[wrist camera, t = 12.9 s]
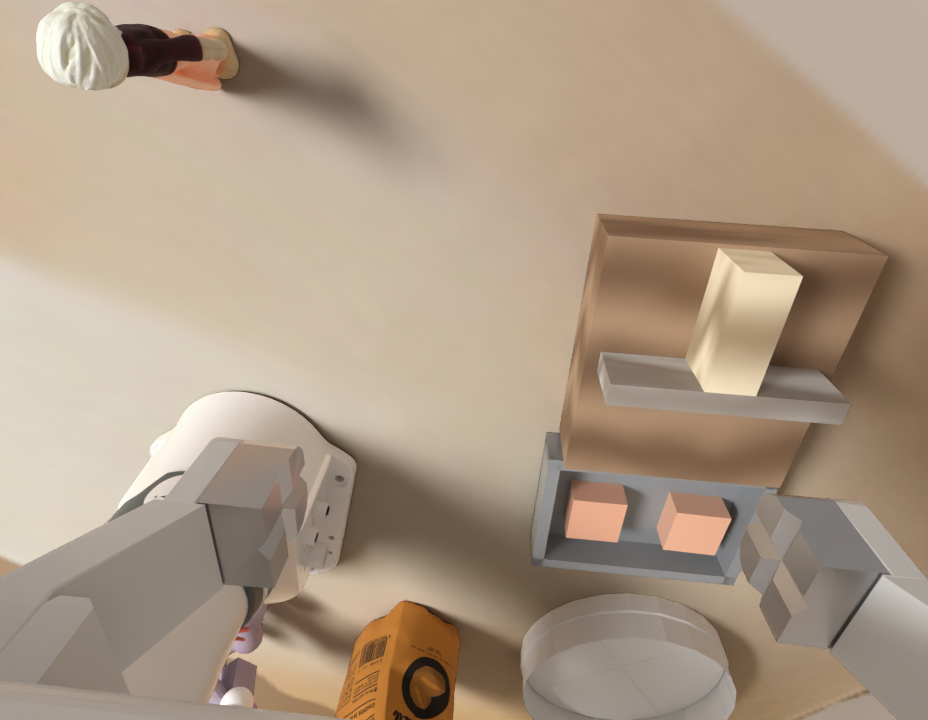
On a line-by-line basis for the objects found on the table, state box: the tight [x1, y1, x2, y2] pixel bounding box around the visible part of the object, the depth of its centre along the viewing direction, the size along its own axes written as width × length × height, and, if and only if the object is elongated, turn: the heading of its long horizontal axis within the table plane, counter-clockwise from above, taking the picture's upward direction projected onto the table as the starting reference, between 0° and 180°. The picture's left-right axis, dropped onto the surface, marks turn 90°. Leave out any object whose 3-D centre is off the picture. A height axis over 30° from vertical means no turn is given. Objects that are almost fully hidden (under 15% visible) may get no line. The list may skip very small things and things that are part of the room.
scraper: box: [597, 248, 852, 425], centre depth 32 cm, size 9×14×4 cm, turn 87°
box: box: [530, 432, 779, 585], centre depth 46 cm, size 12×18×4 cm
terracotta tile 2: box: [563, 480, 628, 542], centre depth 47 cm, size 4×4×2 cm
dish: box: [521, 593, 737, 720], centre depth 58 cm, size 22×22×5 cm
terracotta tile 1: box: [656, 492, 731, 556], centre depth 46 cm, size 4×4×2 cm
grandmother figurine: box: [36, 2, 239, 91], centre depth 27 cm, size 8×4×13 cm, turn 101°
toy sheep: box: [209, 604, 268, 709], centre depth 54 cm, size 20×11×14 cm, turn 45°
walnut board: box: [560, 214, 889, 488], centre depth 38 cm, size 18×16×5 cm
